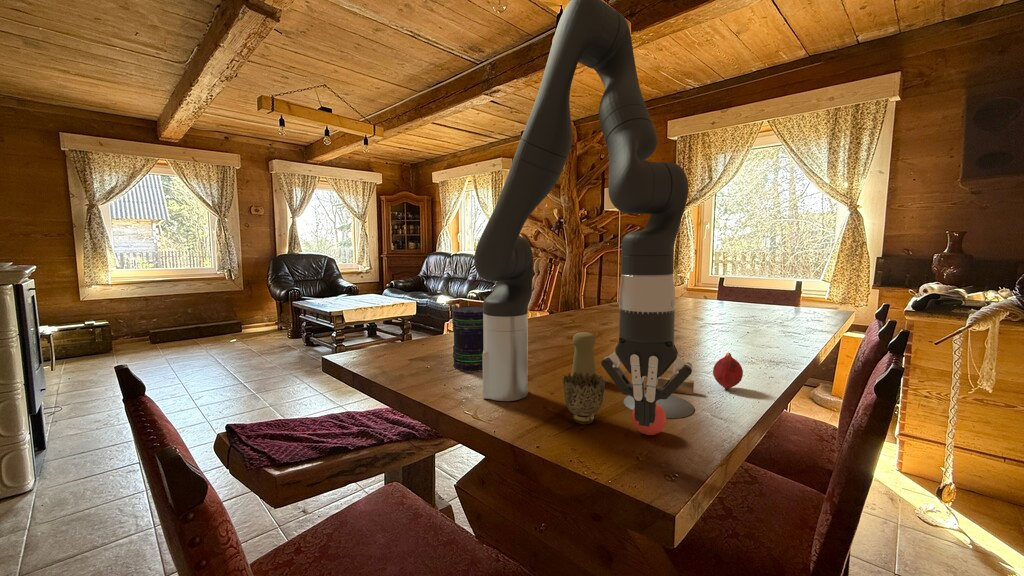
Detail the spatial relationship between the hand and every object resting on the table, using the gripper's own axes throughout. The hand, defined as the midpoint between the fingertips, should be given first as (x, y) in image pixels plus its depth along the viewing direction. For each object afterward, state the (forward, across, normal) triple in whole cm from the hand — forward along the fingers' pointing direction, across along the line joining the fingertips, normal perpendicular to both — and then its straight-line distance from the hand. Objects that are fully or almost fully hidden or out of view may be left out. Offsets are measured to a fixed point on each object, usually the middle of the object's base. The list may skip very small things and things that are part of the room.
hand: (644, 423), depth 63 cm
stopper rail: (+5, 0, -33) cm, 34 cm away
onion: (+6, -12, -39) cm, 41 cm away
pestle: (+5, +18, -33) cm, 38 cm away
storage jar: (+5, +47, -32) cm, 57 cm away
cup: (+5, +12, -10) cm, 16 cm away
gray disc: (+5, 0, -23) cm, 24 cm away
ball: (+3, 0, -9) cm, 10 cm away
